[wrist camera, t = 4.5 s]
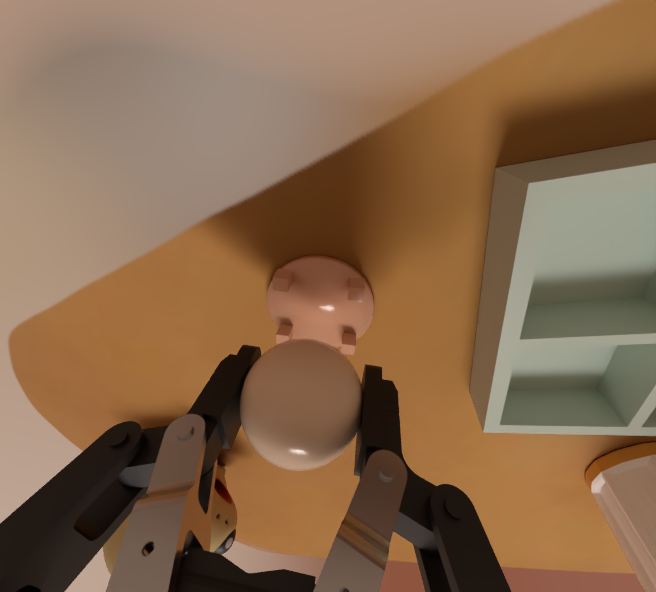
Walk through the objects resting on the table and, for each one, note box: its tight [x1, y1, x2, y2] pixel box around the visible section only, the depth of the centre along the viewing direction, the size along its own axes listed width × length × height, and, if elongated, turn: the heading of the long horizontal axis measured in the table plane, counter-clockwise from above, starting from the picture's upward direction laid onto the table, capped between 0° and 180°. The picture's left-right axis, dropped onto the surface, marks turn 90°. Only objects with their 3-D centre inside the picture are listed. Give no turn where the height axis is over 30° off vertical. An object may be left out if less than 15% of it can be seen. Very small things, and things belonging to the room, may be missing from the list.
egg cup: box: [267, 255, 374, 355], centre depth 16 cm, size 6×6×2 cm
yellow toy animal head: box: [103, 464, 237, 574], centre depth 26 cm, size 10×12×11 cm
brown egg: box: [240, 339, 363, 471], centre depth 11 cm, size 5×5×5 cm
